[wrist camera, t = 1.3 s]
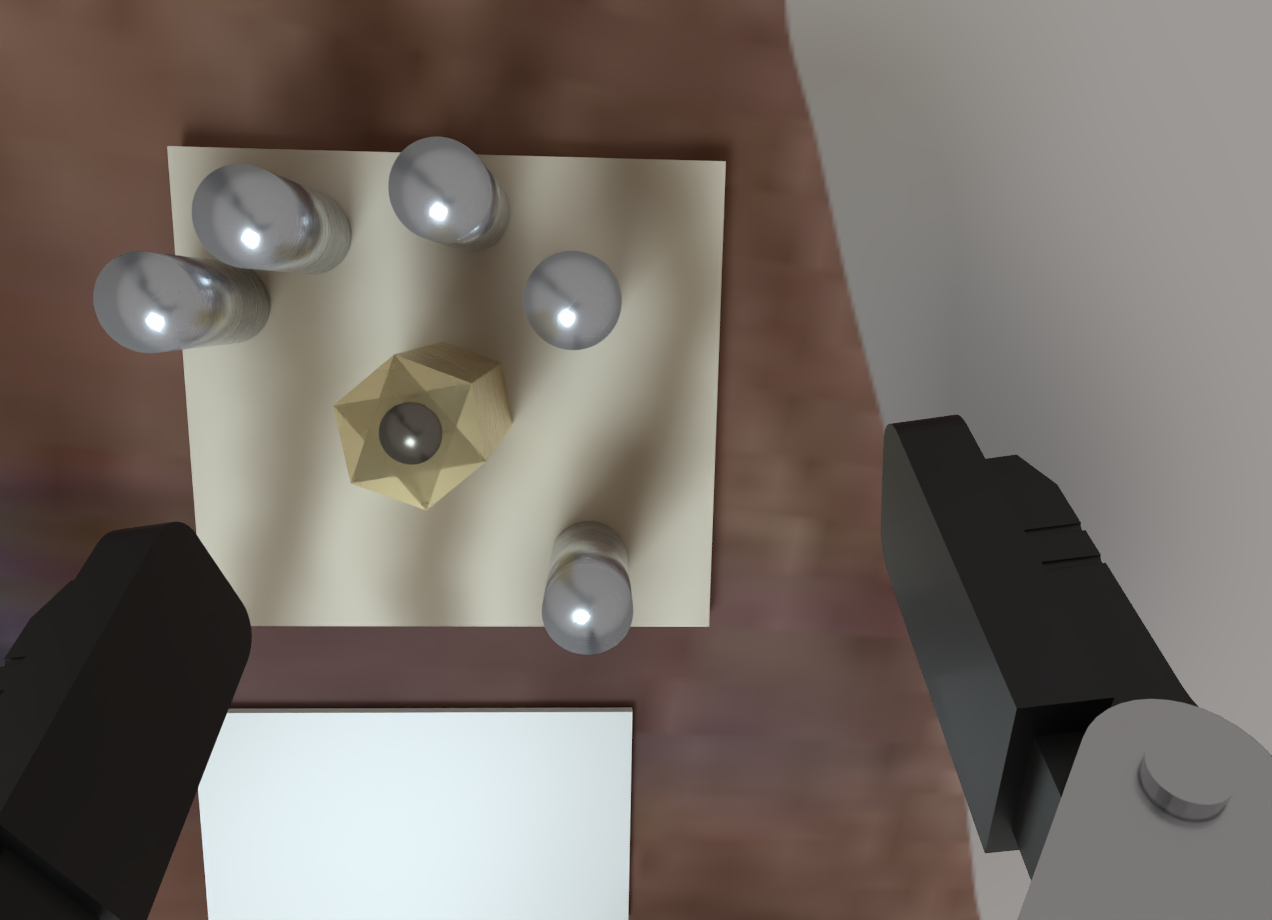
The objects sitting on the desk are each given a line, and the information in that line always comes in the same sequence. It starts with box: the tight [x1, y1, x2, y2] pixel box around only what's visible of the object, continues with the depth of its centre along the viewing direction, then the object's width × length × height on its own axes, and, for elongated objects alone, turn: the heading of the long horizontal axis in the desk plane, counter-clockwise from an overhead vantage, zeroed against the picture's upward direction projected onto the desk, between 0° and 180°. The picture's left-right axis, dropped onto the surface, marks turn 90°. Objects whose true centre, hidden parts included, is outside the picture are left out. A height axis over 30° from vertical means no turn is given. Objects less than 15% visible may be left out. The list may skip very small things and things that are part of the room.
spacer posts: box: [93, 137, 633, 655], centre depth 30 cm, size 16×16×6 cm
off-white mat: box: [198, 707, 632, 920], centre depth 37 cm, size 18×10×1 cm, turn 89°
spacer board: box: [167, 146, 726, 627], centre depth 33 cm, size 20×18×1 cm
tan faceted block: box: [333, 341, 513, 510], centre depth 29 cm, size 5×4×8 cm
